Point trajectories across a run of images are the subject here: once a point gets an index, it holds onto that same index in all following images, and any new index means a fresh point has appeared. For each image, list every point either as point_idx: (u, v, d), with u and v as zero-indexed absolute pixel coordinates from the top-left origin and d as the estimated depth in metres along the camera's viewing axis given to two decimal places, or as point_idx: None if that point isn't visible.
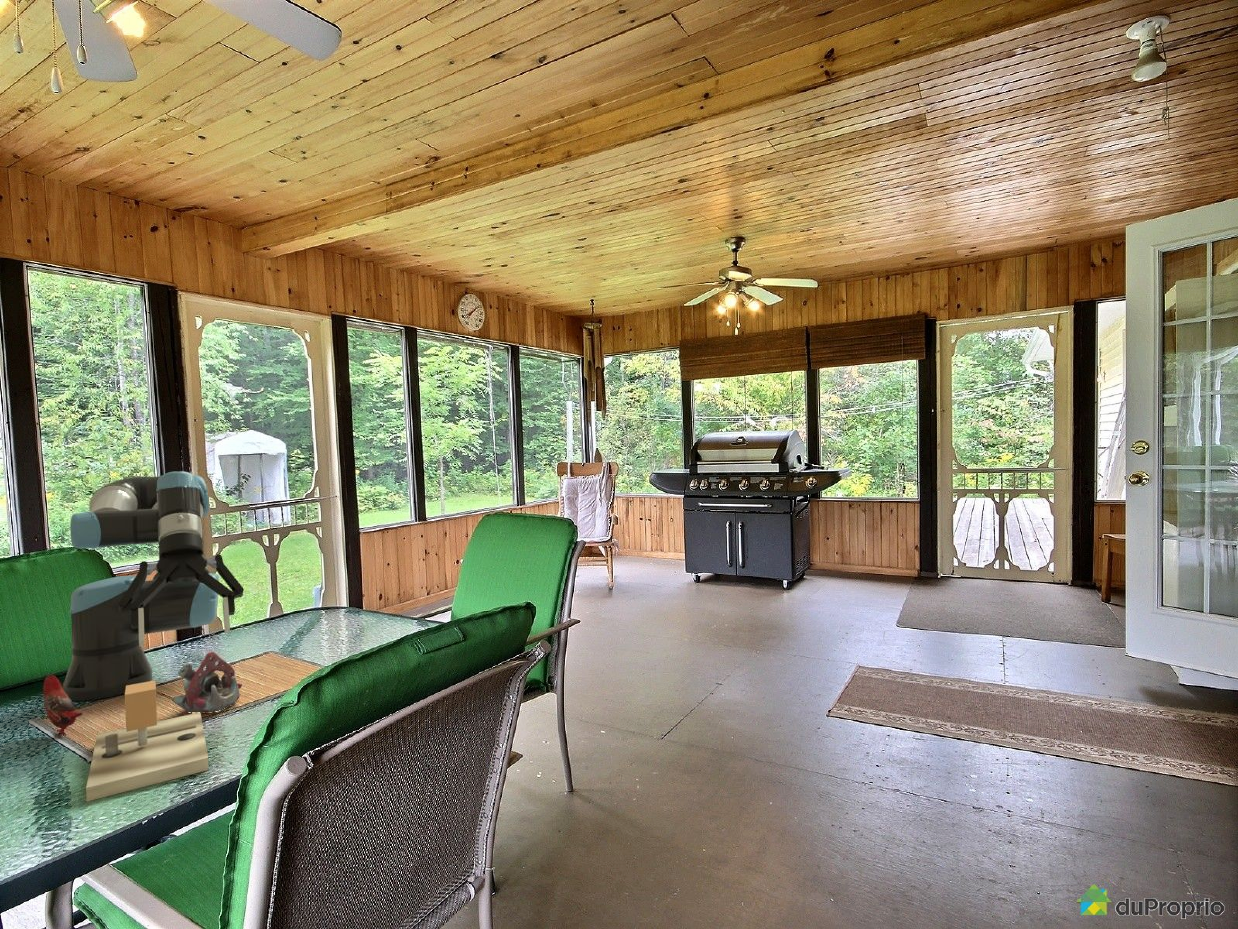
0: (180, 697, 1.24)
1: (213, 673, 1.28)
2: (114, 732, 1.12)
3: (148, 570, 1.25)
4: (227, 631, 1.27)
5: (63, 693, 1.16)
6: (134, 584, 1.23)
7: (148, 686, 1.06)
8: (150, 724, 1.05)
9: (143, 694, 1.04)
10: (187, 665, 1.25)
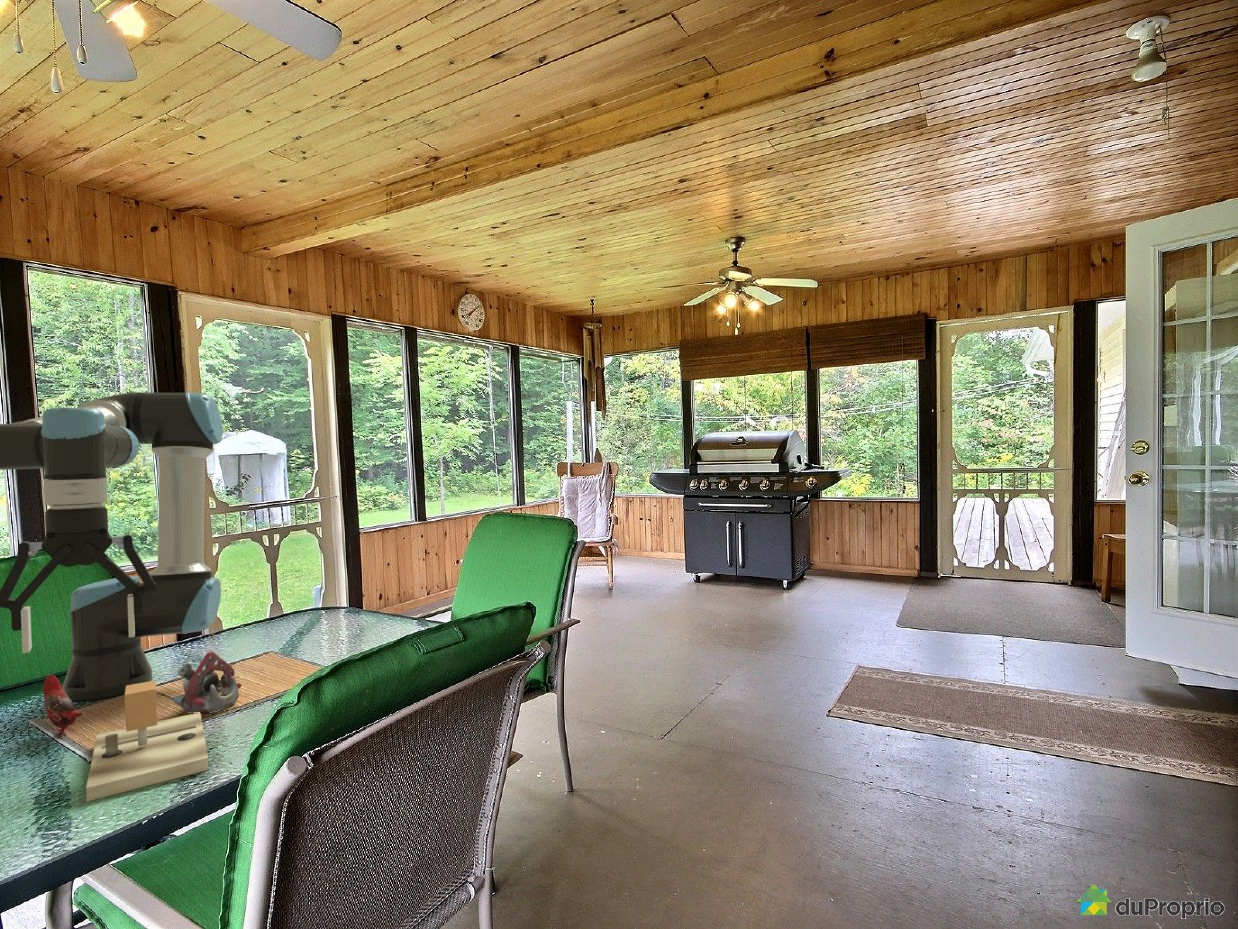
0: (179, 696, 1.24)
1: (212, 673, 1.28)
2: (114, 732, 1.12)
3: None
4: None
5: (63, 693, 1.16)
6: (12, 576, 0.96)
7: (148, 686, 1.06)
8: (150, 724, 1.05)
9: (143, 694, 1.04)
10: (186, 665, 1.26)
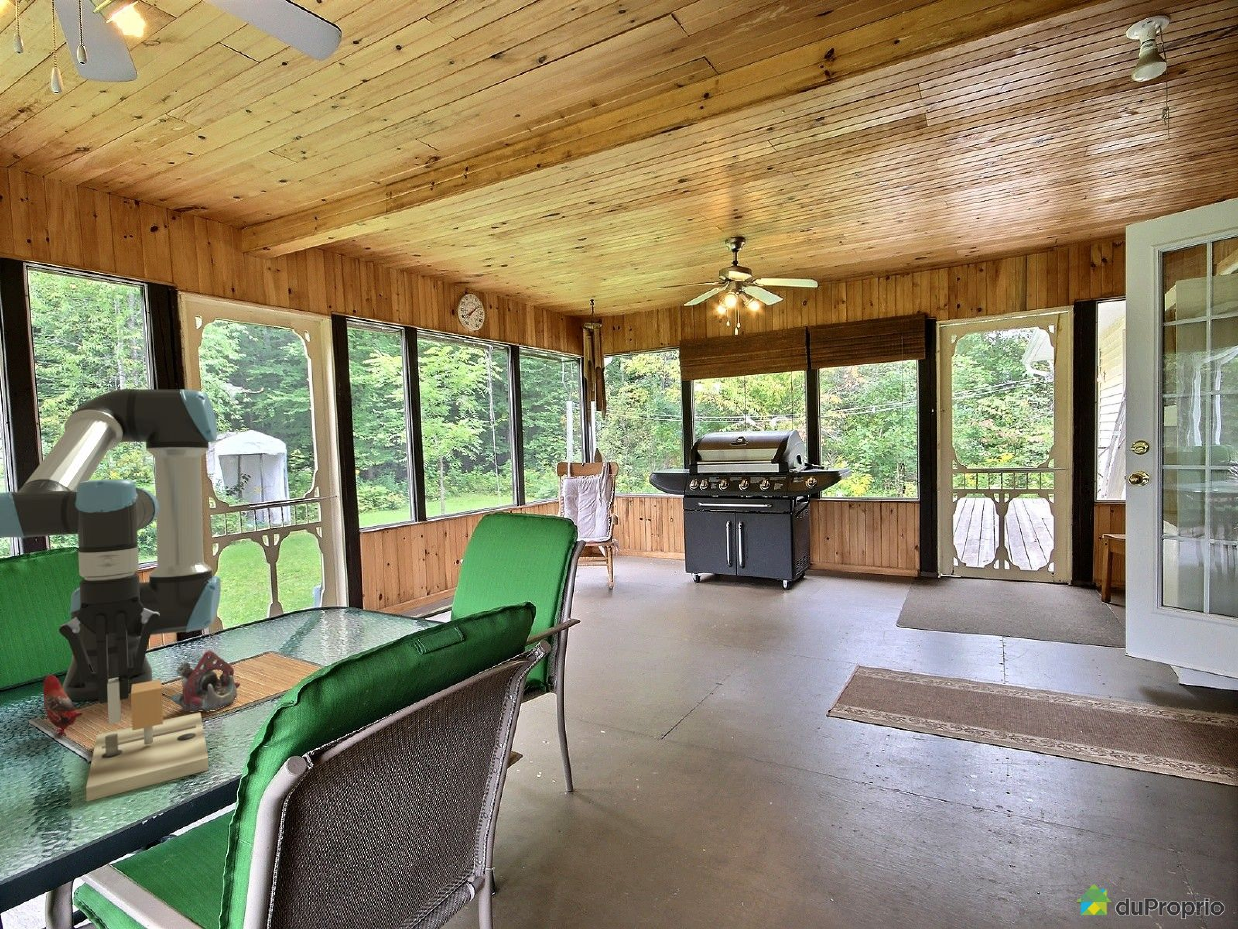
0: (178, 695, 1.25)
1: (211, 672, 1.29)
2: (114, 732, 1.12)
3: None
4: None
5: (63, 693, 1.16)
6: (78, 654, 1.00)
7: (154, 685, 1.07)
8: (156, 723, 1.05)
9: (149, 693, 1.04)
10: (185, 663, 1.26)
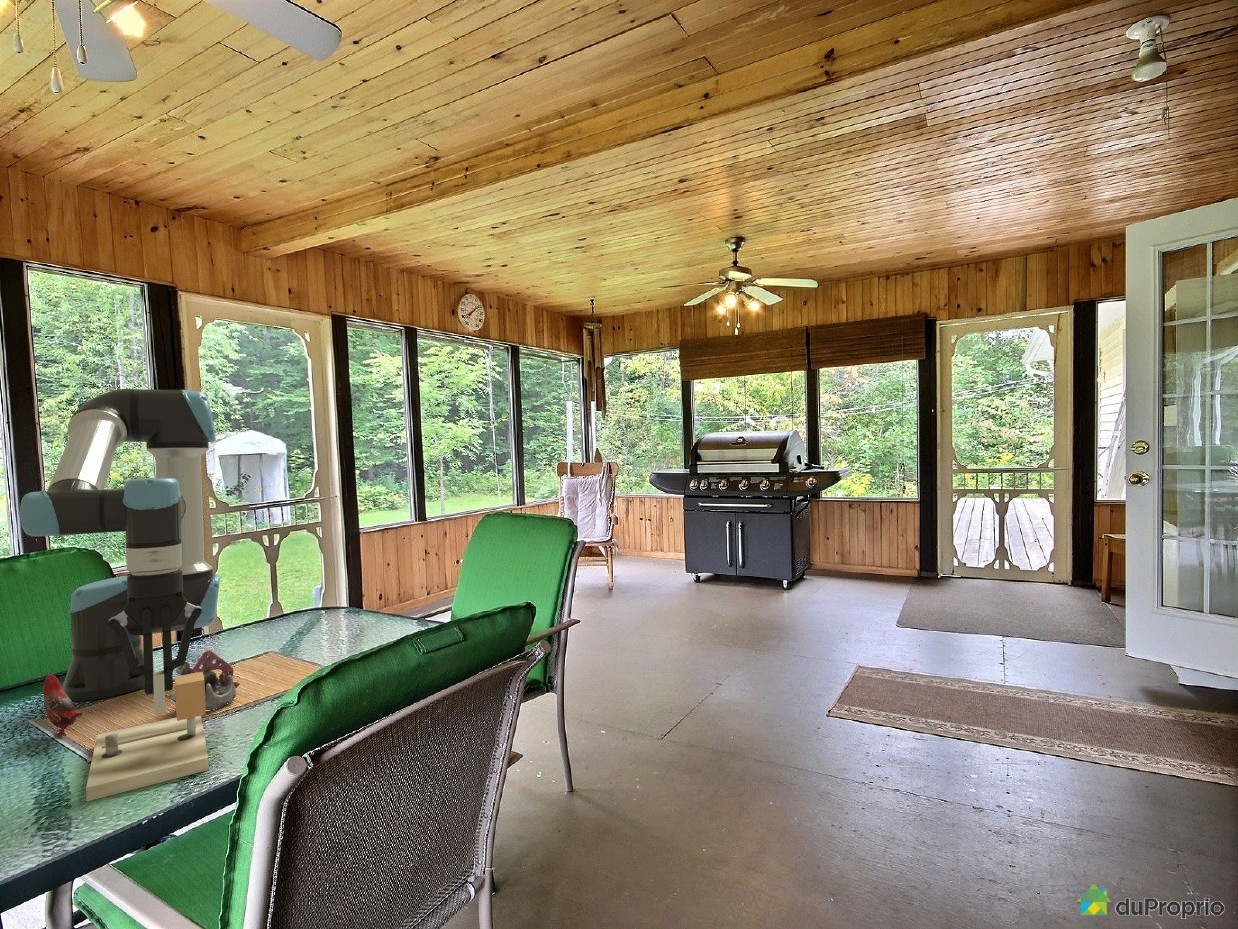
0: None
1: (210, 671, 1.29)
2: (114, 732, 1.12)
3: (123, 624, 1.04)
4: None
5: (63, 693, 1.16)
6: (126, 647, 1.04)
7: (196, 677, 1.10)
8: (199, 713, 1.08)
9: (192, 685, 1.08)
10: None
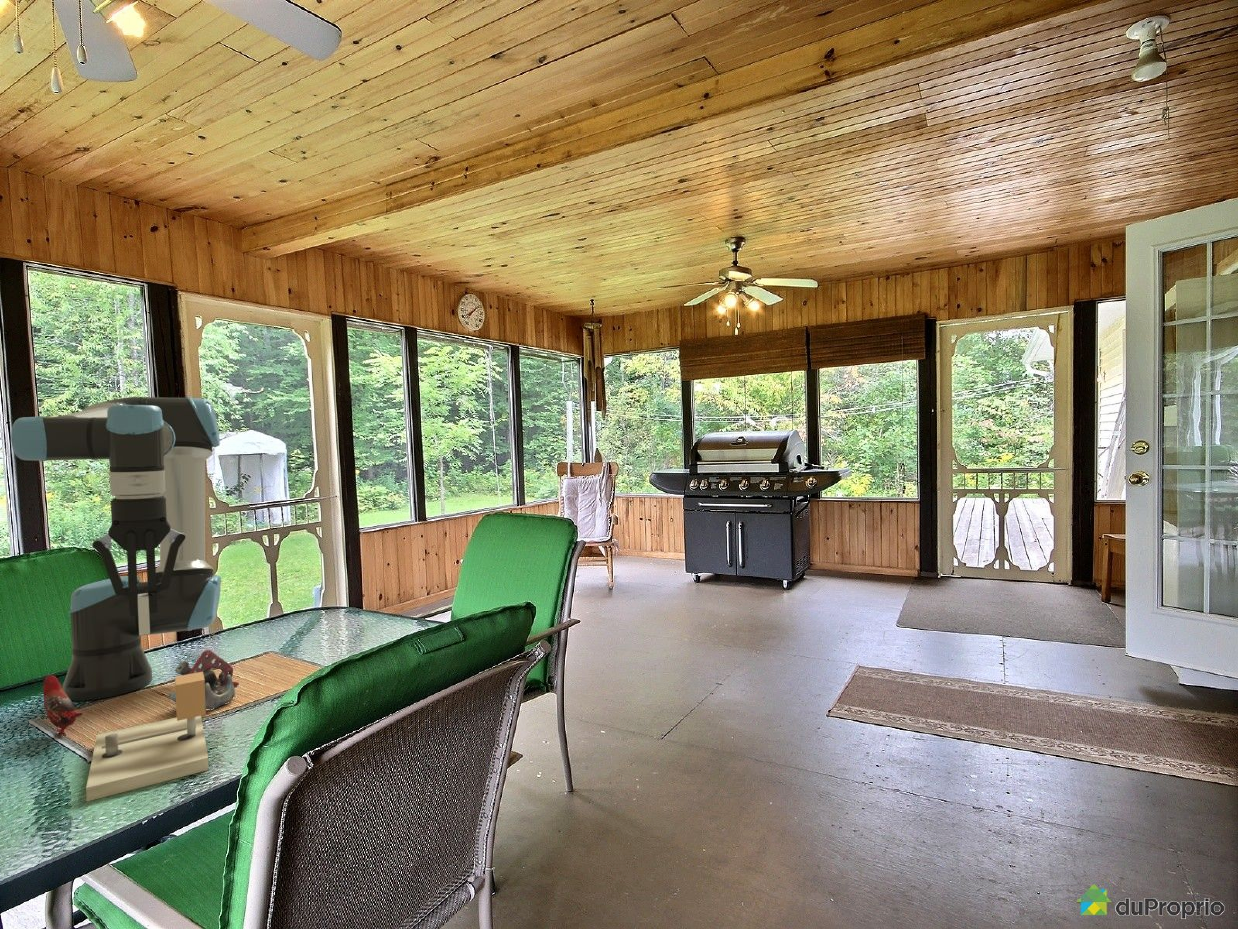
0: None
1: (210, 671, 1.29)
2: (114, 732, 1.12)
3: (108, 546, 1.06)
4: None
5: (63, 693, 1.16)
6: (110, 568, 1.06)
7: (197, 677, 1.10)
8: (199, 713, 1.09)
9: (192, 685, 1.08)
10: (184, 662, 1.27)
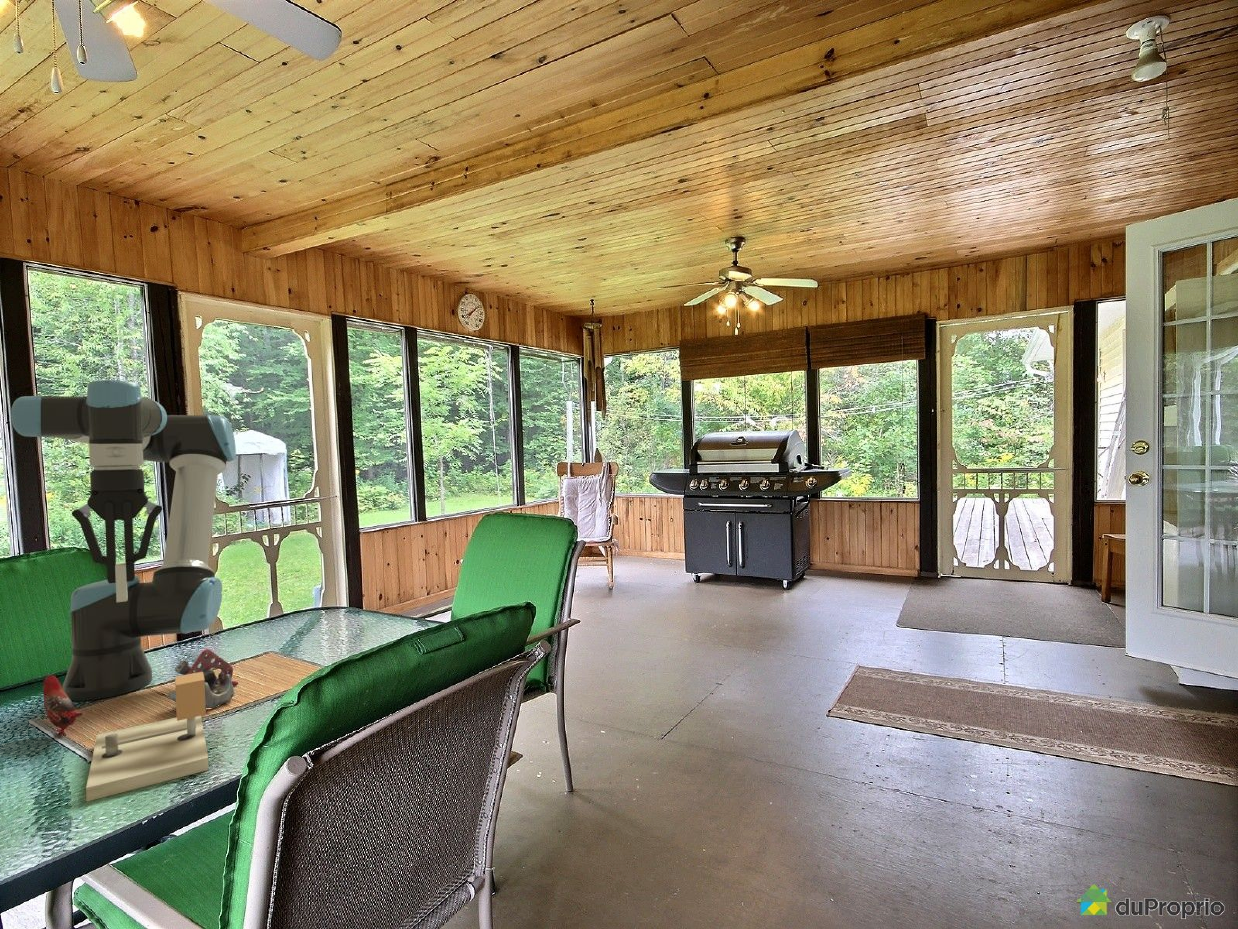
0: (175, 693, 1.26)
1: (209, 670, 1.30)
2: (114, 732, 1.12)
3: (87, 515, 1.11)
4: None
5: (63, 693, 1.16)
6: (89, 537, 1.11)
7: (197, 677, 1.10)
8: (199, 713, 1.09)
9: (192, 685, 1.08)
10: (183, 661, 1.27)
